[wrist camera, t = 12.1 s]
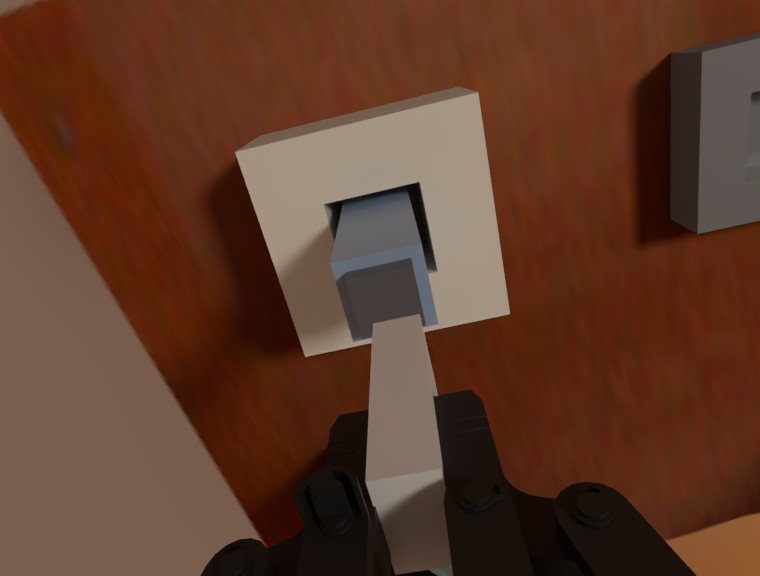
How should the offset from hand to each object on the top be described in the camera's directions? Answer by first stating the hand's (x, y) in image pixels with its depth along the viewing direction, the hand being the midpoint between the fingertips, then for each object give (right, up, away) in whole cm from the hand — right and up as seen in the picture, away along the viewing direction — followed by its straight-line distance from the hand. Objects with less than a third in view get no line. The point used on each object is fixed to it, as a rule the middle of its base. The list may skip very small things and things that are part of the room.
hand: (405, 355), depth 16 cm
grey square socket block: (+22, +12, +14) cm, 29 cm away
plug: (-1, +7, +15) cm, 16 cm away
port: (-1, +7, +16) cm, 18 cm away
